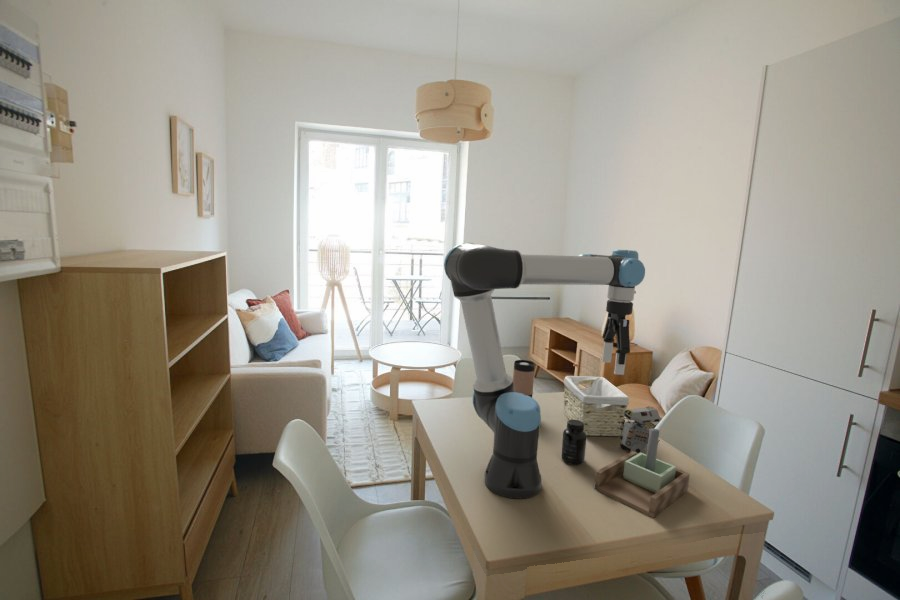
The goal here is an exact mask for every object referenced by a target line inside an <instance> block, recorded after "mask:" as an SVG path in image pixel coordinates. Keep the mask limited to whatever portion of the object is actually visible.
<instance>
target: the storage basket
mask: <svg viewBox="0 0 900 600" xmlns="http://www.w3.org/2000/svg"><path fill="white" fill-rule="evenodd" d="M563 384H564V392H563V398H564V399H563V413H564V414H565V415H566V418H568V420H573V419H574V420H579V421H582V422H583V423H584V430H583V431H584V432H585V433H586V436H591V437H592V436H593V437H594V436H596V437H598V436H599V437H600V436H601V437H620V435H622V432H623V430H620V429H619V428H620V426H621V422H622V420H626V419H625V418H626V417H625V416H624V411H626V410H628V406H629V404H630V401H629V396H628V395H627V394H625V393H624V392H623V391H622V390H620V389H619V388H618V387H616V386H615V385H614V384H613V383H611V382H610V381H609V380H608V379H607V378H605V377H604V376H588V375H587V376H585V375H584V376H583V375H581V376H580V375H566V376H565V377H564V380H563ZM580 385H590V386H588V387H587V386H586V387H585V388H580Z"/></svg>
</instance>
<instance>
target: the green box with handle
mask: <svg viewBox="0 0 900 600" xmlns="http://www.w3.org/2000/svg"><path fill="white" fill-rule="evenodd" d="M649 430H650V431H649V439H648V444H647V447H646V453H644V454H643V453H639V454H637V455H635V456H634V457H632V458H630V459H628V460H626V461H625V465H624V474H623V479H626V480H628V481H630V482H632V483H634V484H637V485H639V486H641V487H643V488H645V489H648V490H650V491H652V492H654V493H657V492H658V491H659V490H661V489H662V488H664V487H665V486H666V485H668V484H669V483H670V482H672V481H673V480H675V472H676V469H677V466H676V465H673V464H671V463H668V462H666V461H663V460H661V459H658V458H657V453H658V445H659V442H658V441H659V437H660V430H659V429H656V428H654V427H651V428H649Z"/></svg>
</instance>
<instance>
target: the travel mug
mask: <svg viewBox="0 0 900 600" xmlns="http://www.w3.org/2000/svg"><path fill="white" fill-rule="evenodd" d="M535 364H536V363H535V362H534V361H531V360H527V359H517V360H514V362H513V374H512V375H513V376H512V379H513V384H514V389H515V392H516V393H522V394H524V395H525V396H527V395H528V396H530V397H532V398H533V395H534V394H533V393H534V392H533V391H534V376H535Z"/></svg>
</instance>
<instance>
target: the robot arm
mask: <svg viewBox="0 0 900 600" xmlns="http://www.w3.org/2000/svg"><path fill="white" fill-rule="evenodd" d="M443 268H444V273H445V275H446V277H447V278H448V279H449V281H450V283H451V287H452V288H451V289H452V291H453V296H454V298H456V299H458V301H460V302H461V303H460V304H461V309H462V315H463V318H464V323H465V329H466V331H467V333H466V334H467V338H468V342H469V348H470V353H471V358H472V362H473V367H474V371H475V375H476V376H475V377H476V380H475V381H474V383H473V385H472V388H473V394H472V405H473V408H474V411H475V413H476V415H477V416H478V417H479V418H480V419H481V420H483V422H484V423H485V424H486V425H487V426H488V427H489V429H490V430H491V431H492V432H493V447H492V448H493V449H492V455H491V457H490V459H489V462H488V464H487V466H486V469H485V471H484V484H485V486H486V487H487V488H488V489H489V490H490V491H491V492H492V493H495V494H496V495H498V496H501V497H504V498H508V499H517V500H518V499H529V498H532V497H535V496H536V495H538V494H539V493H540V491H541V489H542V483H543V482H542V475H541V473H540V469H539V463H538V459H537V458H538V449H539V436H540V435H539V434H540V426H541V420H542V419H541V418H542V417H541V407H540V405H539V402H538V401H537V400H536V399H534V398H533V396H532V397H530V396H528V395H527V396H525V395H524V394H522V393H516V392H515V389H514V384H513V376H511V375H509V374H507V371H506V368H505V367H506V366H505V365H506V364H505V361H504V355H503V351H502V346H501V345H502V344H501V341H500V340H501V339H500V336H499V330H498V324H497V319H496V314H495V309H494V303H493V298H492V294H493V293H494V291H495V290H502V289H504V290H505V289H518V288H520V286H522V285H547V286H549V285H551V286H552V285H555V286H556V285H557V286H558V285H559V286H560V285H563V286H564V285H565V286H566V285H569V286H570V285H571V286H575V285H578V286H580V285H581V286H582V285H584V286H585V285H588V286H592V285H593V286H598V285H600V286H602V285H603V286H605V285H606V286H608V290H607V297H606V298H608V300H606V307H605V308H606V309H605V310H606V312H607V318H606V323H605V326H604V329H603V333H602V339H603V349H602V359H601V362H602V363H608V364H609V363H612V356H613V347H614V343H615V340H614V338H616V347H617V348H616V350H615V361H614V362H615V363H614V369H613V374H614V375H618V376H619V375H621V376H624V375H625V369H626V361H627V354H630V353H631V347H630V346H631V345H630V319H626V316H630V315H632V313H633V307H634V303H633V302H632V301H634V299H635V298H634V297H635V294H637V291H636V290H635V289H636V287H637V286H639V285H640V284H641V283H642V282H643V281H644V279H645V275H646V267H645V265H644V263H643V262H642V261H641V260H640V259H639V252H638V251H637V250H630V249H613V251H612V254H611V255H604V254H591V253H588V254H585V253H583V254H579V255H553V254H545V255H544V254H522V253H521V252H520V251H519V250H516V249H515V250H514V249H503V248H499V247H498V248H497V247H493V246H489V245H485V244H478V243H477V244H476V243H473V242H472V243H471V242H466V243H465V242H464V243H461V244H460V243H459V244H457V245H455V246H453V247H452V248H451V249H449V251H448V252H447V254H446V256H445V259H444V261H443Z"/></svg>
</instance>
